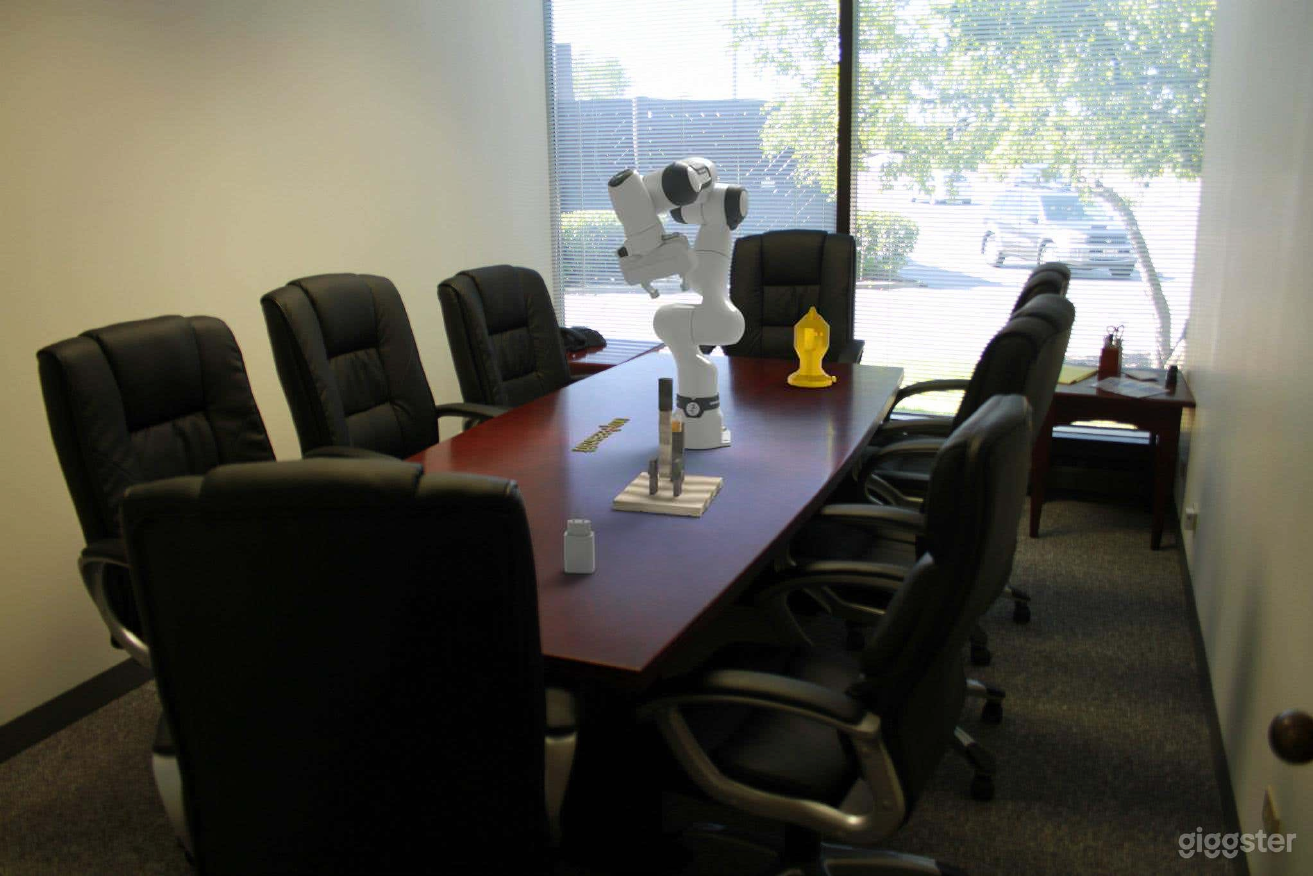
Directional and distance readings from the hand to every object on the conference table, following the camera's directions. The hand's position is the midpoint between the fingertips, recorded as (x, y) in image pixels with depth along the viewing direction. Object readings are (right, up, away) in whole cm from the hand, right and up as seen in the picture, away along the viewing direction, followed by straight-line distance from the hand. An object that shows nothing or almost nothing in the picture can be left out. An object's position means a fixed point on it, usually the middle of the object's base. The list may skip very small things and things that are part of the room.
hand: (671, 293), depth 232 cm
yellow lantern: (+54, -14, +131) cm, 143 cm away
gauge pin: (+1, -31, -4) cm, 32 cm away
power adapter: (-18, -59, -48) cm, 78 cm away
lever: (-1, -42, -10) cm, 43 cm away
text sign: (-19, -34, +54) cm, 67 cm away
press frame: (0, -48, -4) cm, 48 cm away
